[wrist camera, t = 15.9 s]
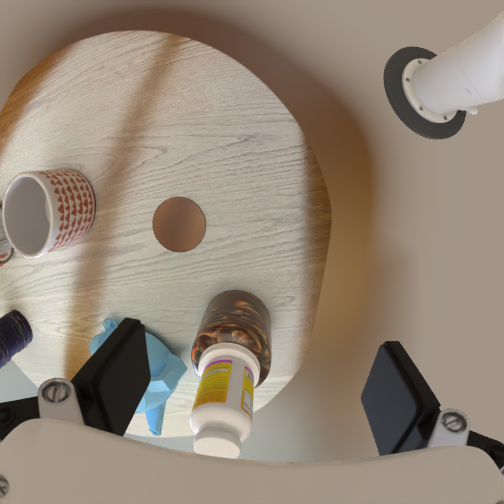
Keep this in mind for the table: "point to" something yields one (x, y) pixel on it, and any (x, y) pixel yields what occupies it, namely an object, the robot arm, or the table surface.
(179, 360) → the teapot
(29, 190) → the planter
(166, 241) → the brown coaster
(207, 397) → the supplement bottle
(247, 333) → the jar
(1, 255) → the tin
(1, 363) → the storage jar
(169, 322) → the table surface
